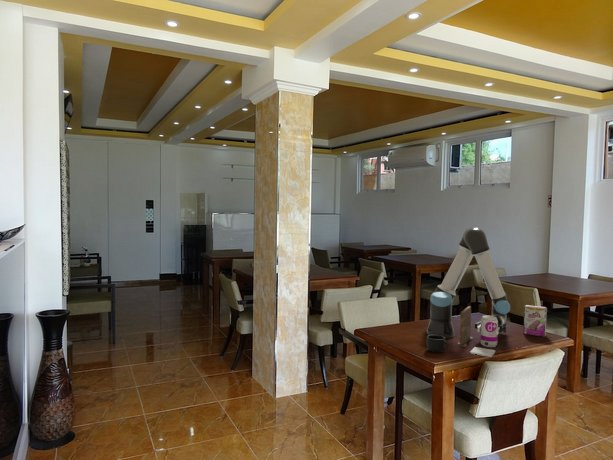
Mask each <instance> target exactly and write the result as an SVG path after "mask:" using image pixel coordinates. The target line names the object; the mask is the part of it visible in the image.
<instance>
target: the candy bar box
mask: <svg viewBox="0 0 613 460" xmlns="http://www.w3.org/2000/svg"><path fill="white" fill-rule="evenodd" d="M523 309H524V311H523V312H524V313H523V335H527V336H534V335H535V336H534V337H541V336H542V337H543V338H546V335H547V330H546V329H547V312H548V308H547V307H546V306H539V305H531V304H530V305H529V304H524V308H523ZM542 337H541V338H542Z"/></svg>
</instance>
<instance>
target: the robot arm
mask: <svg viewBox="0 0 613 460" xmlns="http://www.w3.org/2000/svg"><path fill="white" fill-rule="evenodd" d="M458 247H459V250H458V251H457V253H456V255H455V257H454V259H453V261H452V263H451V264H450V267H449V268H448V271H447V272H446V274H445V276H444V278H443V280H442V282H441V284H438V285H437V286H436V288H435V290H434V292H432V293H431V294H430V298H429V299H430V307H429V308H430V309H429V310H430V312H429V313H430V314H429V315H430V317H429V323H428V326H427V328H426V335H427V336H428V335H440V336H443V337H445V339H452V338H454V337H455V329H454V325H453V323H452V317H453V316H452V313H453V311H452V310H453V301H454V300H455V298H456V295H457V294H456V289H457V288H458V286H459V284H460V282H461V280H462V278H463V277H464V275H465V273H466V271H467V269H468V267H469V266H470V263H471V261H472V259H473V257H474V258H475V260H476V263H477V265H478V267H479V271H480V273H481V275H482V278H483V280H484V283H485V286H486V289H487V291H488V293H489V296H490V298H491V316H495V317H497V320H498V328H497V329H496V335H497V336H498V335H499V334H501V333H504V334H505V333H507V328H508V325H507V323H506V321H507V314H508V313H509V312H510V311H511V304H510V303H509V301H508V297H507V293H506V292H505V290H504V288H503V285H502V282H501V280H500V278H499V275H498V272H497V269H496V266H495V264H494V262H493V259H492V256H491V254H490V250H491V249H490V247H489V242H488V239H487V235H486V233H485V231H483V230H482V229H481V228H479V227H476V226H474V227H469V228H467V229H466V230H465V231H464V233H463V234H462V237H461V240H460V242H459V243H458ZM474 329H476V330H477V333H481V320H480V321H478V322H475V323H474Z"/></svg>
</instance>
